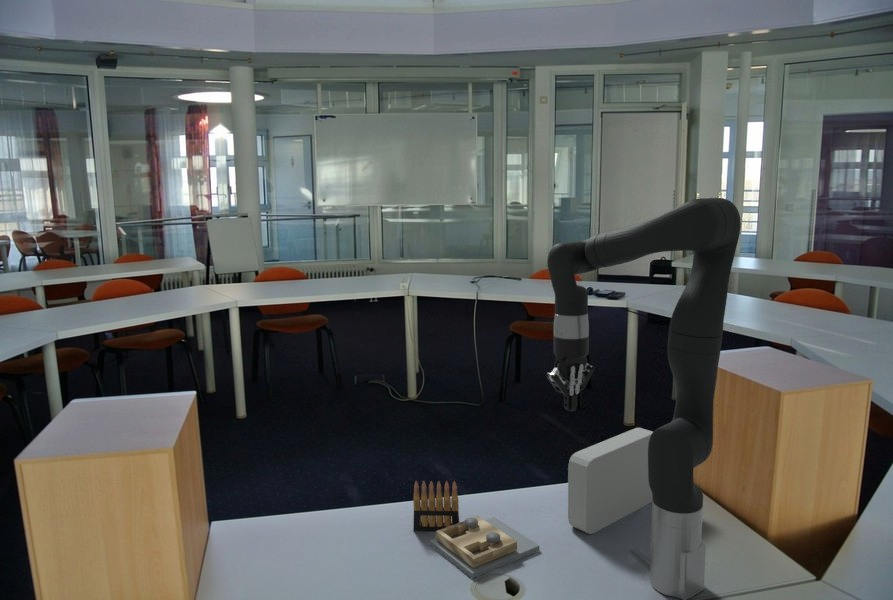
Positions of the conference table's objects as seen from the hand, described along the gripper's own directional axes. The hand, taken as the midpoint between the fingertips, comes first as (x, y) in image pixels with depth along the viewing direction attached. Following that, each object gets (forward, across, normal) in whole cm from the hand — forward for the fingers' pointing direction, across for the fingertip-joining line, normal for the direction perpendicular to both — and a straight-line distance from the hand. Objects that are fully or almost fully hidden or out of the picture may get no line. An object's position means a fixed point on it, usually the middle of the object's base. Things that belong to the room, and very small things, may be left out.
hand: (570, 410), depth 147 cm
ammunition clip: (+29, -24, +19) cm, 42 cm away
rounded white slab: (+29, +15, 0) cm, 33 cm away
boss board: (+29, -20, +6) cm, 36 cm away
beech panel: (+27, -22, +6) cm, 36 cm away
